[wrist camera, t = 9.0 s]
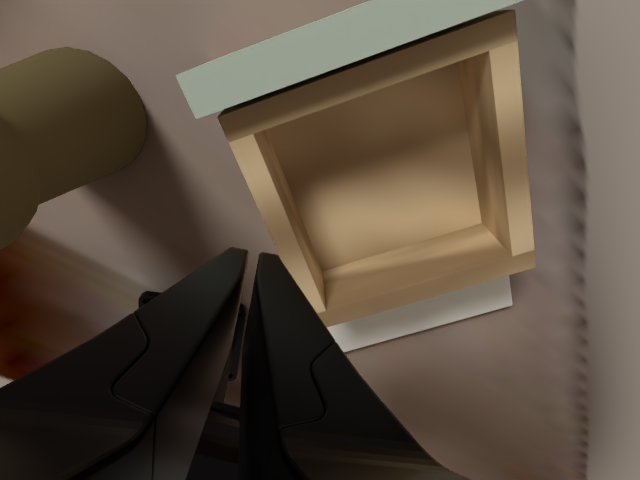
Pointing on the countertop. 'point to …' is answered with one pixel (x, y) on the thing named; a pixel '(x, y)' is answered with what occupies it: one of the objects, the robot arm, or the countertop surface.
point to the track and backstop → (322, 56)
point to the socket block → (395, 170)
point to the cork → (61, 129)
